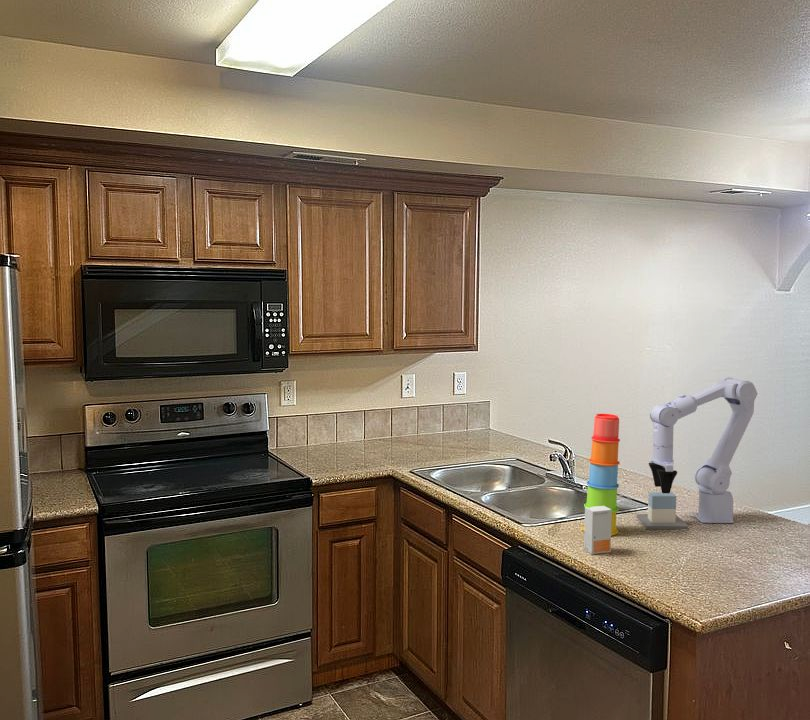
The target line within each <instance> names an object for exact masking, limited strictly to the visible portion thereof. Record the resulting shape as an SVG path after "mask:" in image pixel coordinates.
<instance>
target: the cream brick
mask: <svg viewBox="0 0 810 720" xmlns="http://www.w3.org/2000/svg"><path fill="white" fill-rule="evenodd" d="M676 509H677V508H676ZM676 509H652V508H651V507H650V506H649V505H647V514H648V519H649V520H650V521H651V522H675V519H676V515H677V514H676Z"/></svg>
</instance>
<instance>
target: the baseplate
mask: <svg viewBox="0 0 810 720" xmlns="http://www.w3.org/2000/svg"><path fill="white" fill-rule="evenodd" d="M636 518H637V520H638V521H639V522H640V523H641V525H642V526H643V527H644V528H645V530H649V529H650V530H651V531H652V530H654V529H657V531H658V529H688V530H689V526H688V525H687V523H685V522H684V521H683V520H682V519H681V518H680V517H679V516H678V515H677V514H676V519H675V522H651V521H650V520H649V519H648V513H637V514H636ZM654 531H655V530H654Z"/></svg>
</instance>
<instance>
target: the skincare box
mask: <svg viewBox="0 0 810 720" xmlns="http://www.w3.org/2000/svg"><path fill="white" fill-rule="evenodd" d="M611 519H612V510H611V509H609V508H607V507H605V506H594V507H587V508H585V507H584V525H585V529H584V531H583V532H584V536H583V538H584V539H583V550H584V551H585V550H586V551H585V552H587V553H589V554H590V555H595V554H596V555H598V554H606V553H609V552H610V553H611V551H612V550H611V549H612V546H611V545H612V536H611ZM610 553H609V554H610Z"/></svg>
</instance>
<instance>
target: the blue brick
mask: <svg viewBox="0 0 810 720" xmlns="http://www.w3.org/2000/svg"><path fill="white" fill-rule="evenodd" d="M647 499H648V501H647V504H648V505H649V506H650V507H651V508H652V509H677V496H676V494H674V493H673V492H672V491H670V493H662V491H659V492H658V491H656V492H655V491H649V492H648V498H647ZM648 505H647V506H648Z"/></svg>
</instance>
